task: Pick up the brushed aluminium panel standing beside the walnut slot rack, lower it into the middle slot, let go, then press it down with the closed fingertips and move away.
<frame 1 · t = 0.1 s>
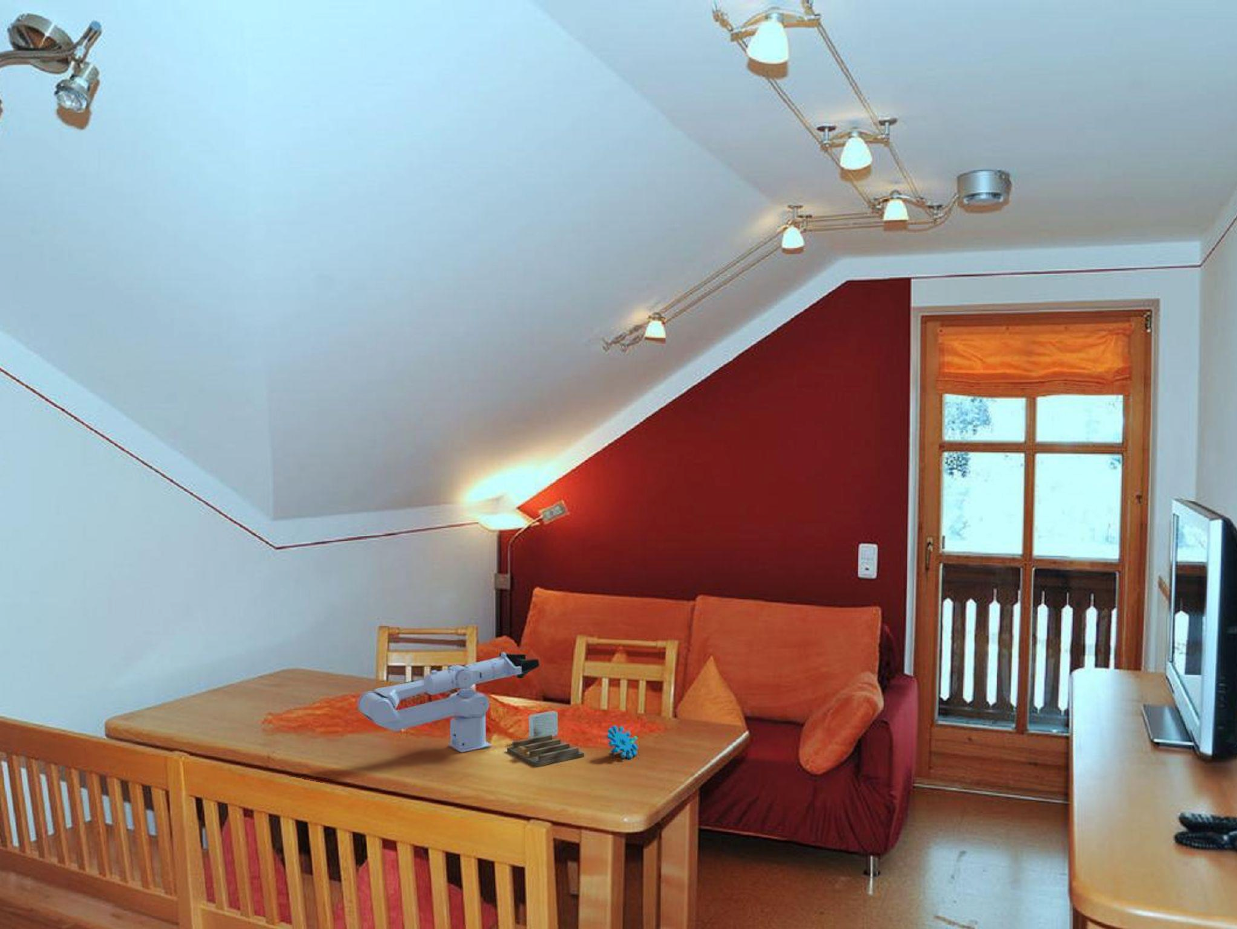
hand: (531, 660, 300), 22 cm above the table, tool horizontal, fingers open, 7 cm apart
gear: (623, 755, 282), on the table
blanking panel: (543, 738, 298), on the table
slot rack: (545, 753, 283), on the table
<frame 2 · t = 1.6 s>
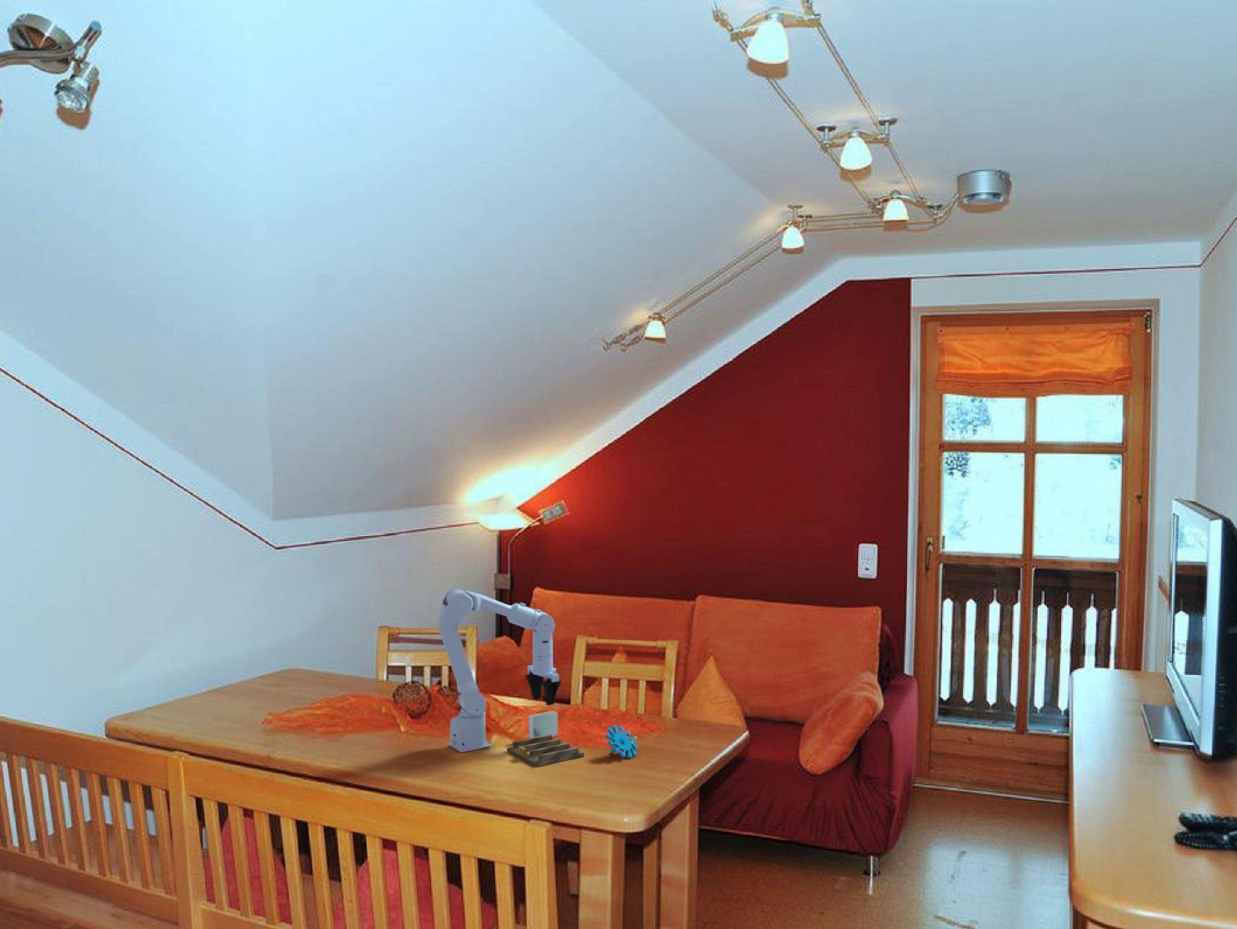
hand: (543, 701, 297), 10 cm above the table, tool pointing down, fingers open, 7 cm apart
nothing on the table moved.
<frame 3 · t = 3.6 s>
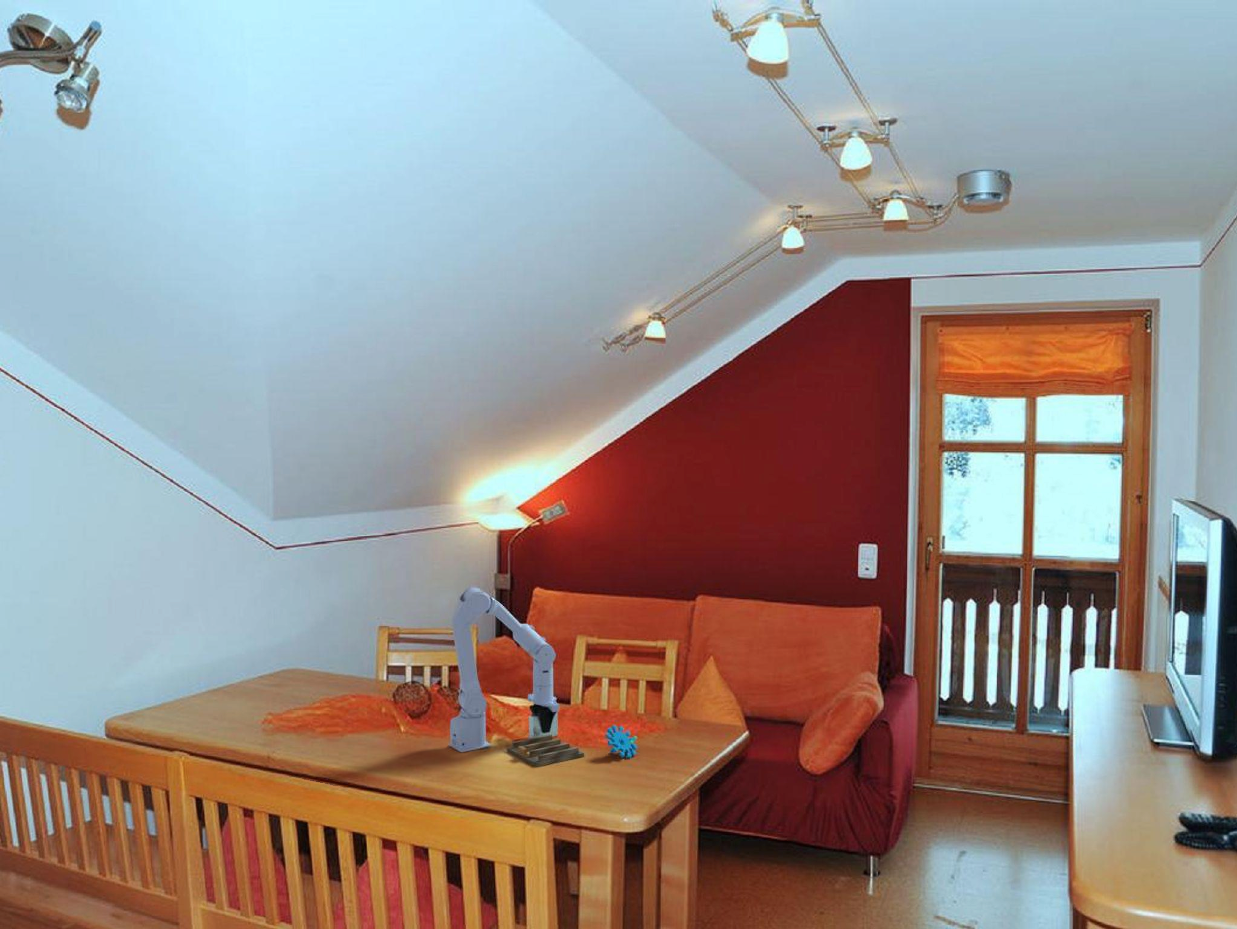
hand: (543, 731, 298), 2 cm above the table, tool pointing down, fingers closed on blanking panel, 2 cm apart
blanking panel: (543, 737, 298), on the table, touching gripper
everything else where it was.
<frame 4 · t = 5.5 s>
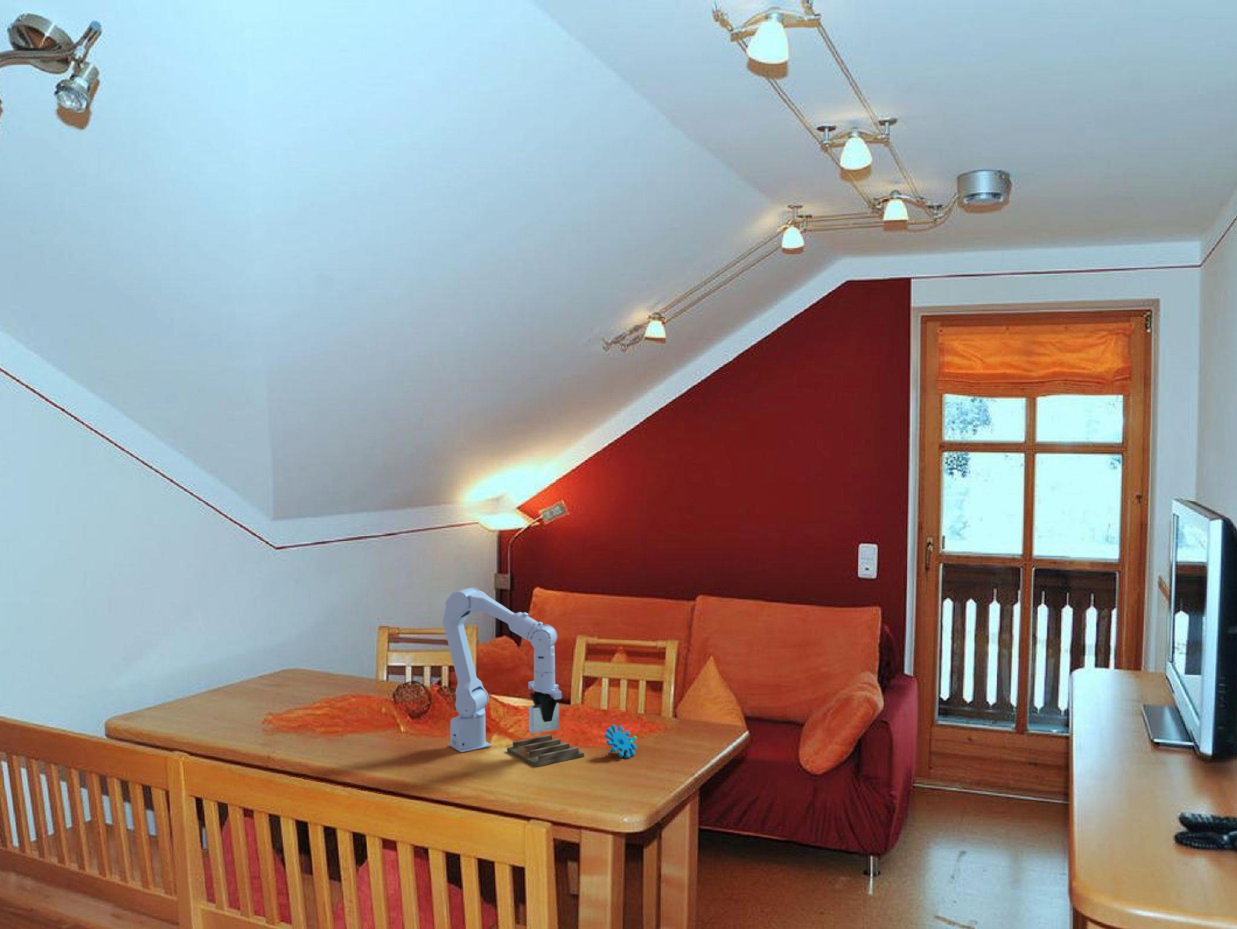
hand: (545, 719, 284), 9 cm above the table, tool pointing down, fingers closed on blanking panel, 2 cm apart
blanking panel: (544, 730, 284), point 6 cm above the table, touching gripper
everything else where it was.
when the fingers open (3 cm above the table, at t = 7.4 s): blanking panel stays where it is, resting on slot rack.
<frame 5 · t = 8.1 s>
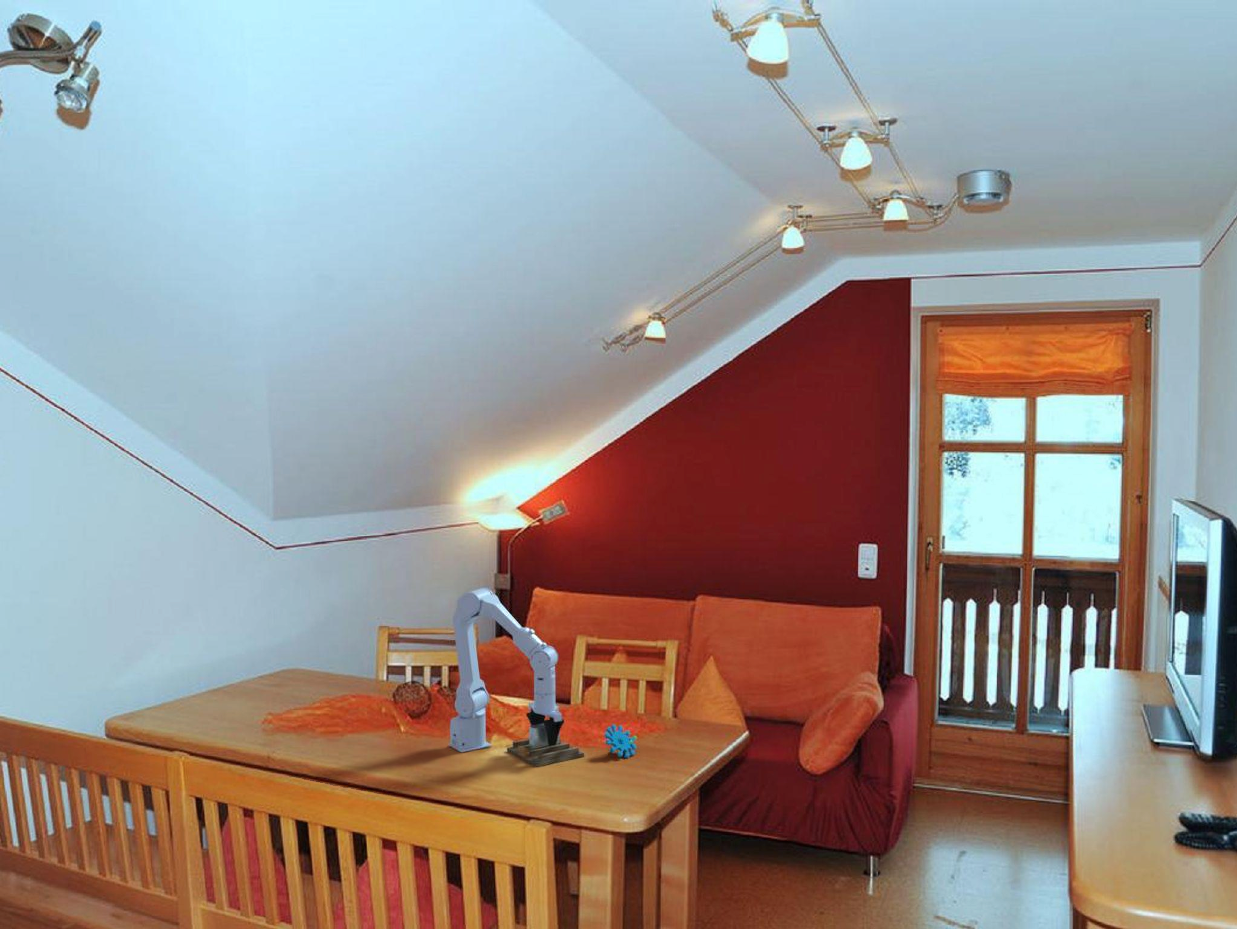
hand: (545, 741, 283), 3 cm above the table, tool pointing down, fingers open, 7 cm apart
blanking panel: (544, 750, 283), point 1 cm above the table, touching slot rack
everything else where it was.
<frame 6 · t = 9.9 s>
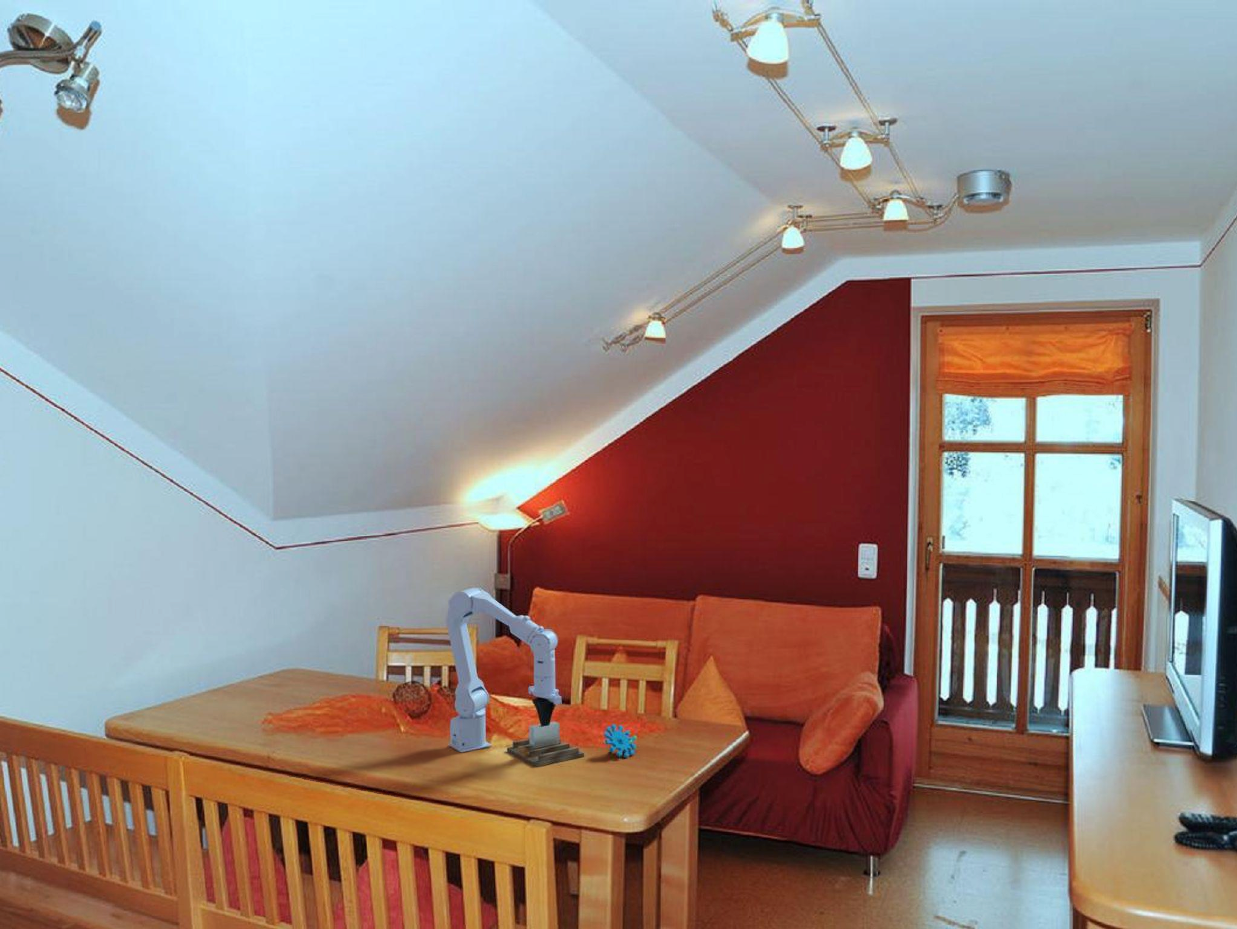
hand: (545, 724, 283), 8 cm above the table, tool pointing down, fingers closed, pressing on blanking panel
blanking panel: (544, 750, 283), point 1 cm above the table, touching gripper, slot rack
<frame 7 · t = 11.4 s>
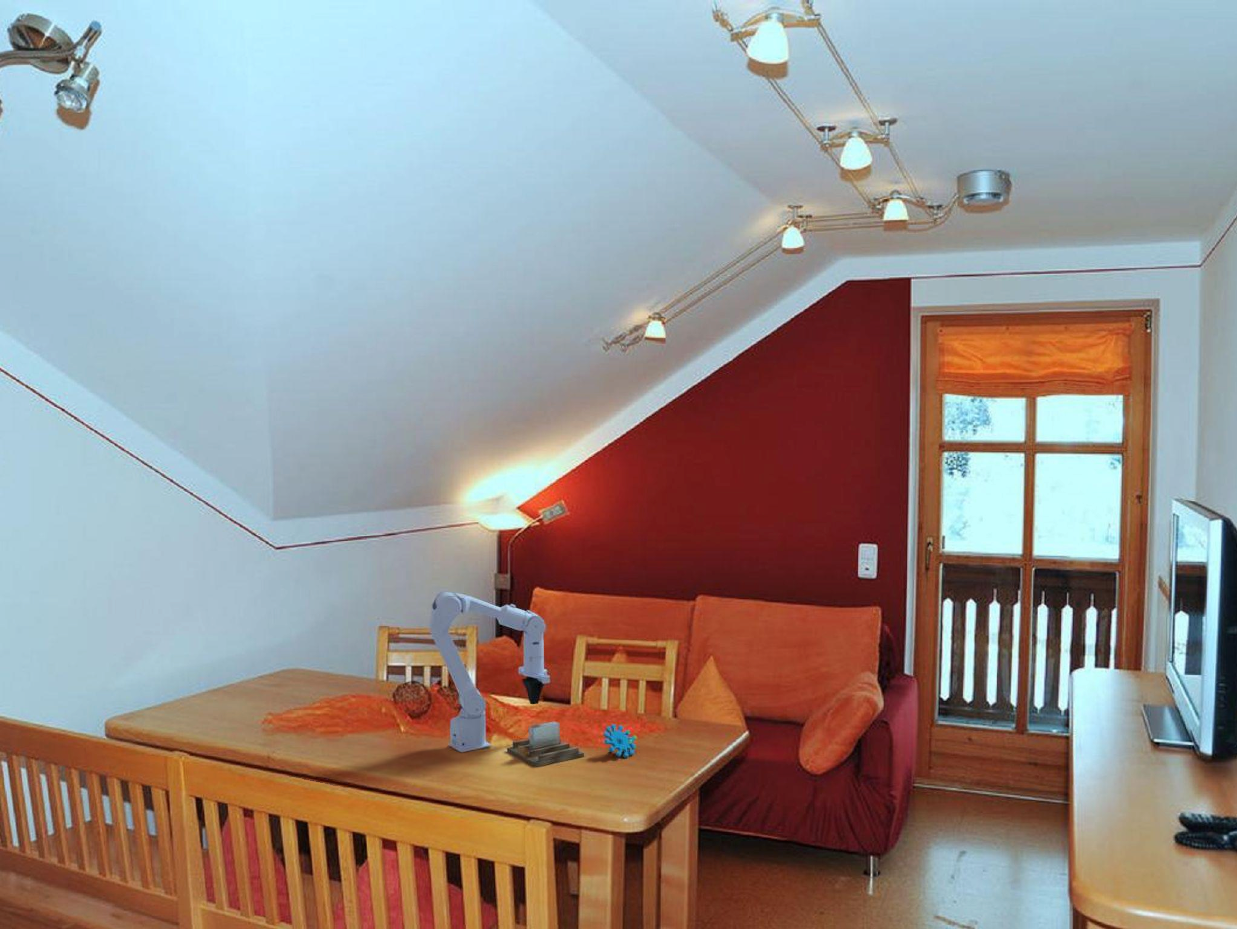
hand: (534, 703, 296), 10 cm above the table, tool pointing down, fingers closed
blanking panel: (544, 750, 283), point 1 cm above the table, touching slot rack
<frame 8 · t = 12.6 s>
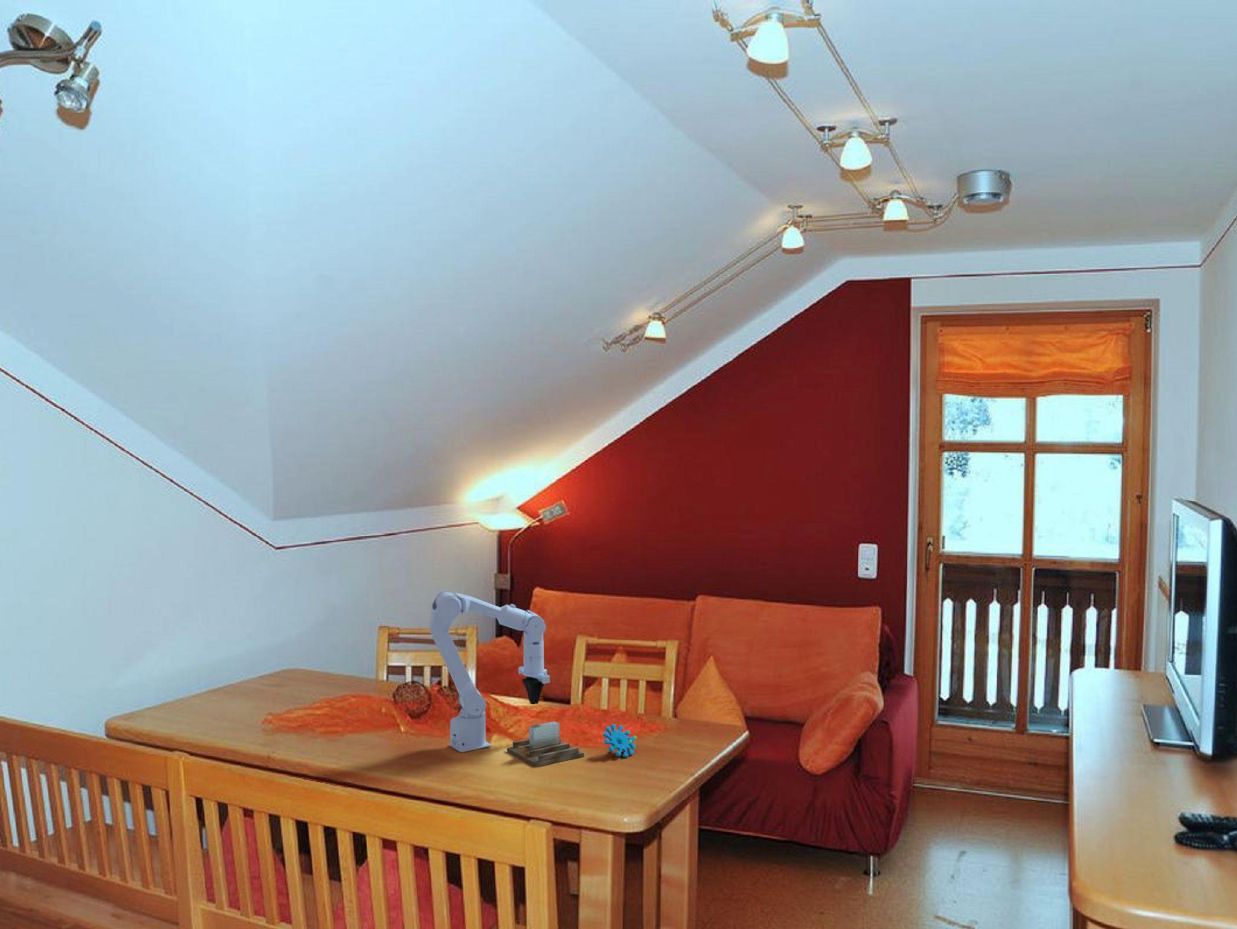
hand: (534, 703, 296), 10 cm above the table, tool pointing down, fingers closed
at the end: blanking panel 0.2 cm off-centre on the slot rack, point 1.1 cm above the slot rack's base; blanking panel tilted 0°; the gripper is holding nothing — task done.
